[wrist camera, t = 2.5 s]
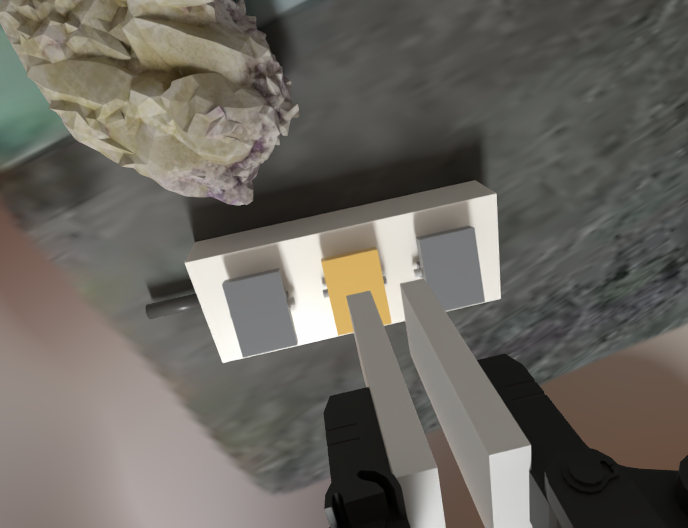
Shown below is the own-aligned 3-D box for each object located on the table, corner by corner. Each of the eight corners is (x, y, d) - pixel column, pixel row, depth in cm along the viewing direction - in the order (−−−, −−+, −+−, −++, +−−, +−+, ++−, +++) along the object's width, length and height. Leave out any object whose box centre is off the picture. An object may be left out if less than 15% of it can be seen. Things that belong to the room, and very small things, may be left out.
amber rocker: (320, 258, 32) (321, 261, 31) (374, 246, 32) (377, 249, 31) (337, 330, 33) (338, 335, 32) (389, 318, 34) (391, 323, 32)
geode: (122, -69, 31) (71, 141, 34) (-3, -184, 22) (-59, 117, 25) (348, 5, 29) (275, 220, 32) (315, -86, 20) (217, 227, 23)
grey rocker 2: (415, 237, 32) (419, 239, 31) (468, 225, 32) (474, 227, 31) (427, 309, 34) (431, 314, 33) (479, 297, 34) (485, 301, 33)
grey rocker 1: (224, 280, 32) (221, 284, 31) (279, 267, 32) (278, 271, 31) (244, 351, 33) (242, 357, 32) (297, 339, 33) (297, 345, 32)
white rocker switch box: (132, 256, 35) (109, 285, 31) (475, 180, 36) (503, 197, 32) (171, 347, 39) (157, 386, 35) (481, 277, 40) (506, 305, 35)
